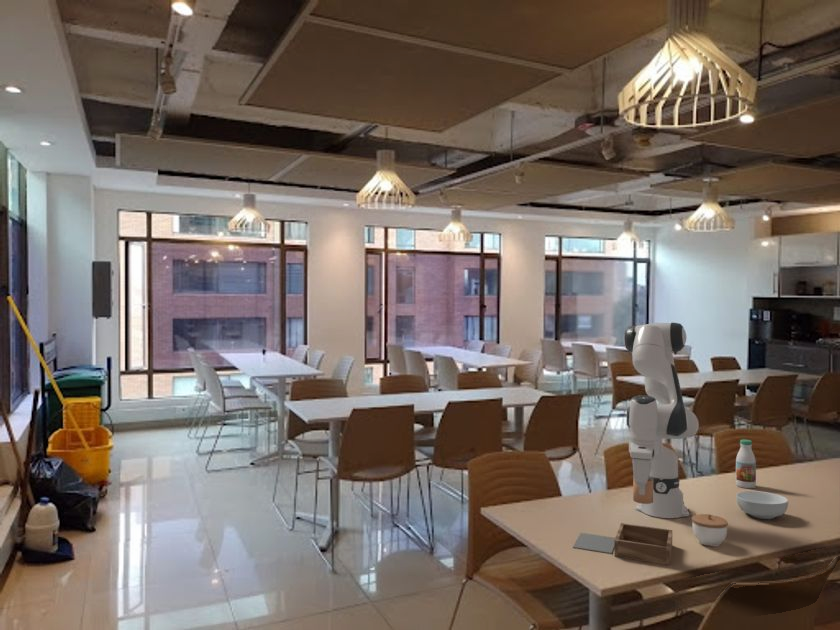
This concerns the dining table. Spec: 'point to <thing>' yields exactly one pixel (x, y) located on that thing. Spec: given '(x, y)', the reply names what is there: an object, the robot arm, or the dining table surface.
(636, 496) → the peach cylinder
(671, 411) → the robot arm
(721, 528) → the lidded jar
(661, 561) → the wooden frame
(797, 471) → the dining table surface
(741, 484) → the milk bottle
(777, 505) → the cereal bowl
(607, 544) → the slate mat
